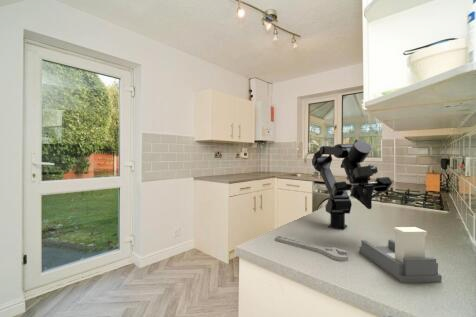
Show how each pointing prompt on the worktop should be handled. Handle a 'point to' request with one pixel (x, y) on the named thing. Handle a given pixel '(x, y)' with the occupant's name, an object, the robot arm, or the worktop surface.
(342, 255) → the adjustable wrench
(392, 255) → the switch housing
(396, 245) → the switch tab
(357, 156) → the robot arm
